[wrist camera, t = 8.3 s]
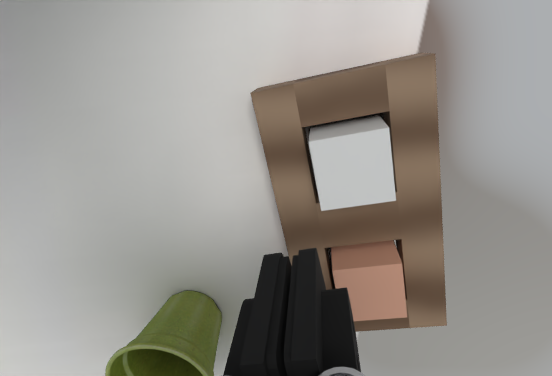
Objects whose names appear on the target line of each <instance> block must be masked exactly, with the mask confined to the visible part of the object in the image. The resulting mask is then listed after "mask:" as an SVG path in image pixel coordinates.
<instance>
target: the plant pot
mask: <svg viewBox="0 0 552 376" xmlns="http://www.w3.org/2000/svg"><path fill="white" fill-rule="evenodd" d="M221 320H222V316H221V312H220V311H219V309H218V308H217V306H216V305H215V303H214V301H213V300H212V299H211V298H209V297H208V296H206V295H204V294H202V293H199V292H195V291H183V292H181V293H178V294H175V295H172V296H171V297H170V298H169V299H168V300H167V302H166V303H165V304H164V305H163V307H162V308H161V309H160V310H159V311H158V313H157V314H156V315H155V316H154V318H153V319H152V320H151V321H150V322H149V324H148V325H147V326H146V327H145V328H144V329H143V331H142V332H141V333H140V334H139V335H138V336H137V338H136V339H134V340H133V341H131V342H130V343H129V344H128V345H127V346H125V347H123V348H121V349H120V350H118V351H117V352H116V353H115V354H114V355H113V356H112V357H111V358H110V360H109V362H108V364H107V366H106V373H105V376H214V372H213V368H214V362H215V356H216V349H217V343H218V338H219V333H220V327H221Z"/></svg>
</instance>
